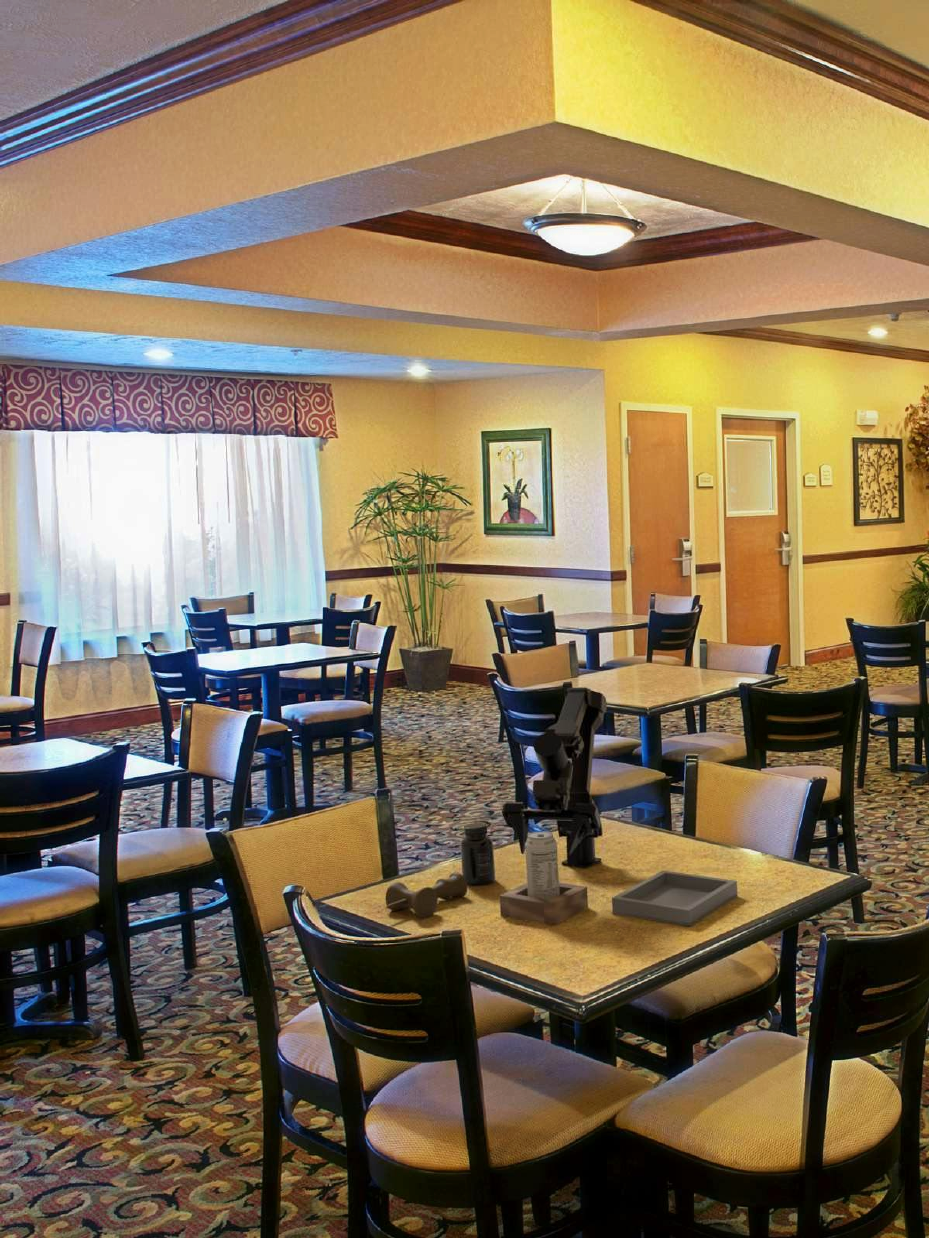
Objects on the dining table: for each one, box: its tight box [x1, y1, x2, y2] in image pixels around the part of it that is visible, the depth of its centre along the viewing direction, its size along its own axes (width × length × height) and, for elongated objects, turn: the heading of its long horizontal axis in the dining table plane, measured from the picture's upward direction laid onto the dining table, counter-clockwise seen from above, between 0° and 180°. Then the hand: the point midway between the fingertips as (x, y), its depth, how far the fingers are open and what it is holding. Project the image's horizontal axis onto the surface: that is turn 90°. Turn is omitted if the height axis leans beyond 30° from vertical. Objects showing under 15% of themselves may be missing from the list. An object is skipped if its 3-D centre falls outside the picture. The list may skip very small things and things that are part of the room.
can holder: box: [499, 882, 589, 927], centre depth 237 cm, size 12×12×4 cm
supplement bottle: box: [459, 822, 496, 887], centre depth 258 cm, size 7×7×12 cm
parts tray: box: [611, 870, 738, 928], centre depth 237 cm, size 20×16×3 cm
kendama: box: [385, 872, 468, 920], centre depth 243 cm, size 6×10×20 cm
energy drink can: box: [525, 830, 560, 900], centre depth 236 cm, size 6×6×15 cm
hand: (545, 853), depth 239 cm, fingers open, 9 cm apart
